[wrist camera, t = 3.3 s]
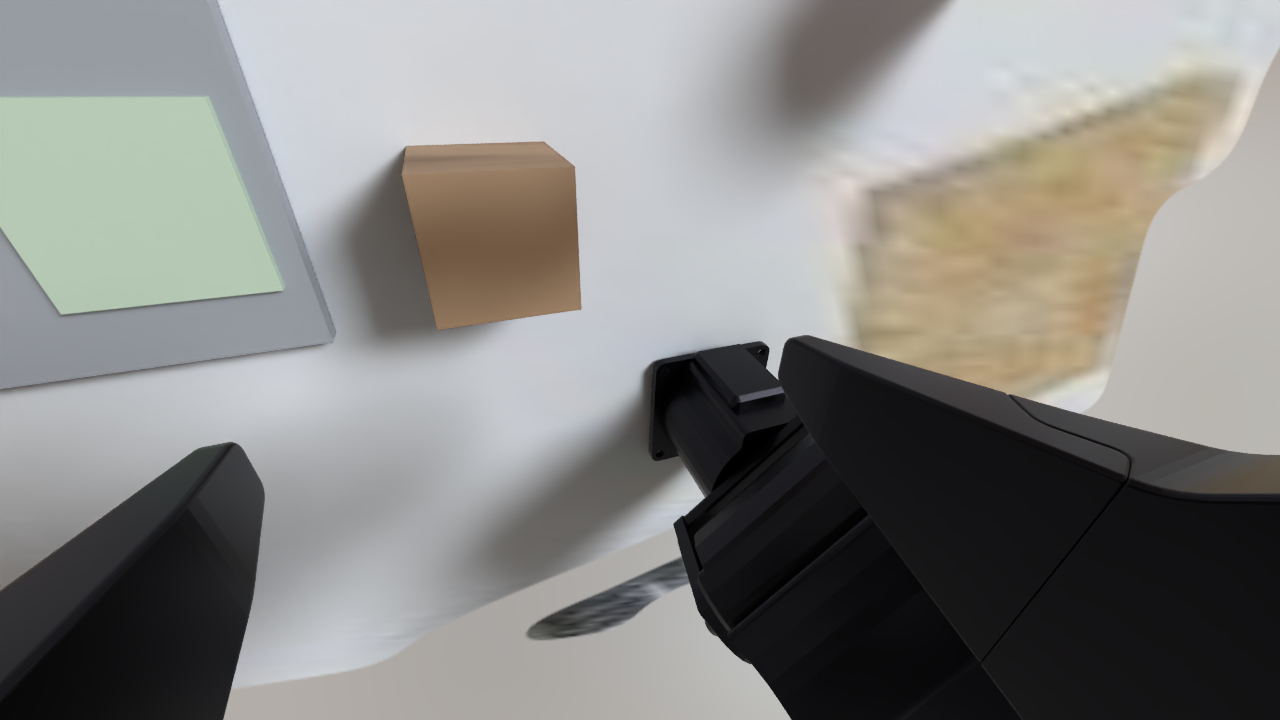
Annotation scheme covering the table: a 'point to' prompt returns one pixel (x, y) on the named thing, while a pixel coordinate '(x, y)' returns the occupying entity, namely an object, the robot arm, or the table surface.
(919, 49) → the table surface
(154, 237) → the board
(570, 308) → the walnut block
